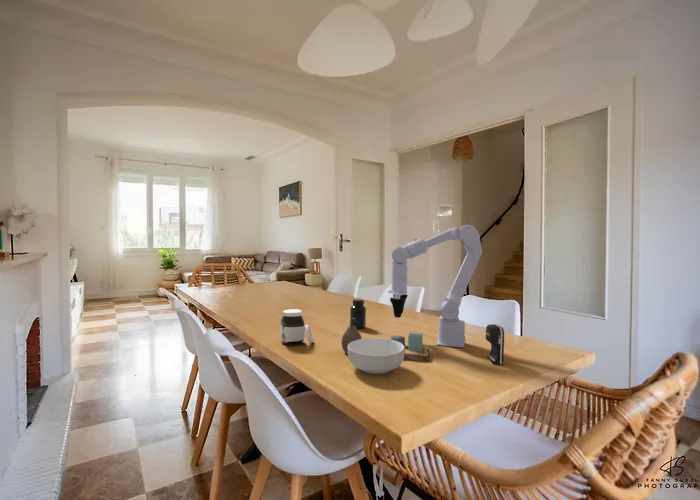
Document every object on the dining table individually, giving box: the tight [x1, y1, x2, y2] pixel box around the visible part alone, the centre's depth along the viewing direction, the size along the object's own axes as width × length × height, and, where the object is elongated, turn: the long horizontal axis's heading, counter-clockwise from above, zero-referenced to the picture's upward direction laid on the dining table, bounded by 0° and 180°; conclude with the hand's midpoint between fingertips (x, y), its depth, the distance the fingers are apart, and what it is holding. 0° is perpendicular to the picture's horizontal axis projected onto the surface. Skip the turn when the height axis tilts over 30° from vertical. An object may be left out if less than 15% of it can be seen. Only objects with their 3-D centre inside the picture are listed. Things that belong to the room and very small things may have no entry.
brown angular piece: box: [403, 347, 430, 362], centre depth 119 cm, size 17×8×2 cm, turn 74°
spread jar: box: [279, 308, 315, 346], centre depth 132 cm, size 12×11×12 cm
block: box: [407, 332, 424, 352], centre depth 126 cm, size 4×4×5 cm
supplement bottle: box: [349, 298, 367, 330], centre depth 155 cm, size 7×7×12 cm
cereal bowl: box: [347, 337, 406, 375], centre depth 105 cm, size 17×17×7 cm
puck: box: [390, 335, 406, 347], centre depth 130 cm, size 5×5×3 cm
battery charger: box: [485, 323, 505, 365], centre depth 113 cm, size 7×4×11 cm, turn 177°
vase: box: [341, 325, 363, 355], centre depth 121 cm, size 7×7×9 cm
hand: (398, 315), depth 136 cm, fingers open, 7 cm apart
